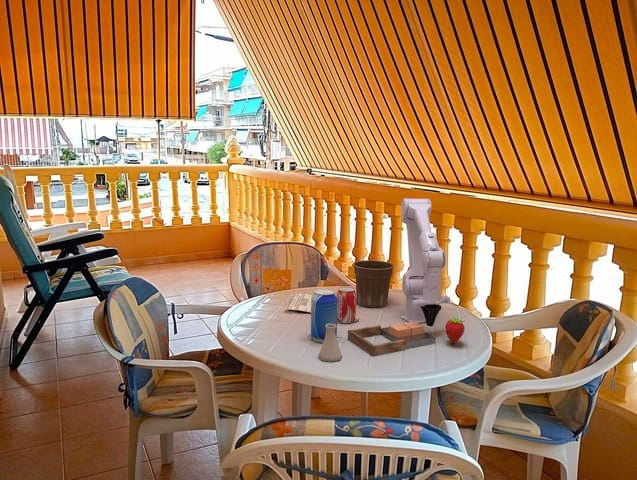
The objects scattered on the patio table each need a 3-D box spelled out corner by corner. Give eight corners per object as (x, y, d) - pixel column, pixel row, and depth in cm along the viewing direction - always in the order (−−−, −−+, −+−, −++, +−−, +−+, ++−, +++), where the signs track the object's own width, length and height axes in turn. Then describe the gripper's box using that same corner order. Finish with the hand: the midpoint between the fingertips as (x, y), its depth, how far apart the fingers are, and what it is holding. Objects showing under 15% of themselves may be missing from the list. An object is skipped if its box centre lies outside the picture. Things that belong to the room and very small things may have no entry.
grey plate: (409, 329, 176) (409, 323, 176) (435, 343, 164) (435, 337, 164) (379, 334, 171) (379, 328, 171) (404, 349, 159) (404, 343, 158)
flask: (317, 352, 155) (317, 321, 153) (340, 352, 156) (341, 321, 154) (318, 362, 148) (319, 329, 146) (343, 362, 149) (344, 329, 147)
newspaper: (289, 297, 213) (289, 291, 213) (318, 301, 212) (318, 295, 212) (279, 314, 191) (280, 308, 190) (311, 319, 190) (312, 313, 189)
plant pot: (370, 295, 216) (371, 257, 213) (400, 304, 204) (402, 264, 201) (343, 302, 205) (344, 263, 202) (373, 312, 193) (375, 271, 190)
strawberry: (461, 340, 167) (463, 310, 165) (464, 349, 160) (467, 318, 158) (443, 339, 168) (445, 309, 166) (445, 347, 160) (447, 317, 159)
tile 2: (414, 328, 172) (415, 321, 171) (424, 333, 167) (424, 326, 167) (402, 330, 169) (403, 323, 169) (411, 335, 165) (412, 328, 165)
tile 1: (401, 330, 169) (401, 323, 169) (410, 335, 165) (410, 328, 164) (388, 332, 167) (389, 325, 167) (397, 337, 163) (398, 330, 162)
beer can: (318, 345, 161) (319, 296, 158) (306, 336, 168) (306, 289, 165) (341, 341, 165) (342, 293, 162) (328, 332, 172) (329, 286, 169)
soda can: (354, 325, 179) (355, 292, 177) (334, 323, 181) (335, 290, 179) (356, 318, 186) (357, 286, 184) (337, 317, 188) (338, 285, 185)
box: (378, 333, 172) (379, 325, 171) (405, 349, 158) (405, 340, 158) (347, 339, 166) (348, 330, 166) (372, 356, 153) (372, 346, 153)
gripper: (421, 291, 162) (419, 332, 164) (457, 286, 168) (454, 326, 171) (408, 286, 168) (406, 325, 171) (443, 281, 174) (440, 319, 177)
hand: (429, 325), depth 171 cm, fingers closed
